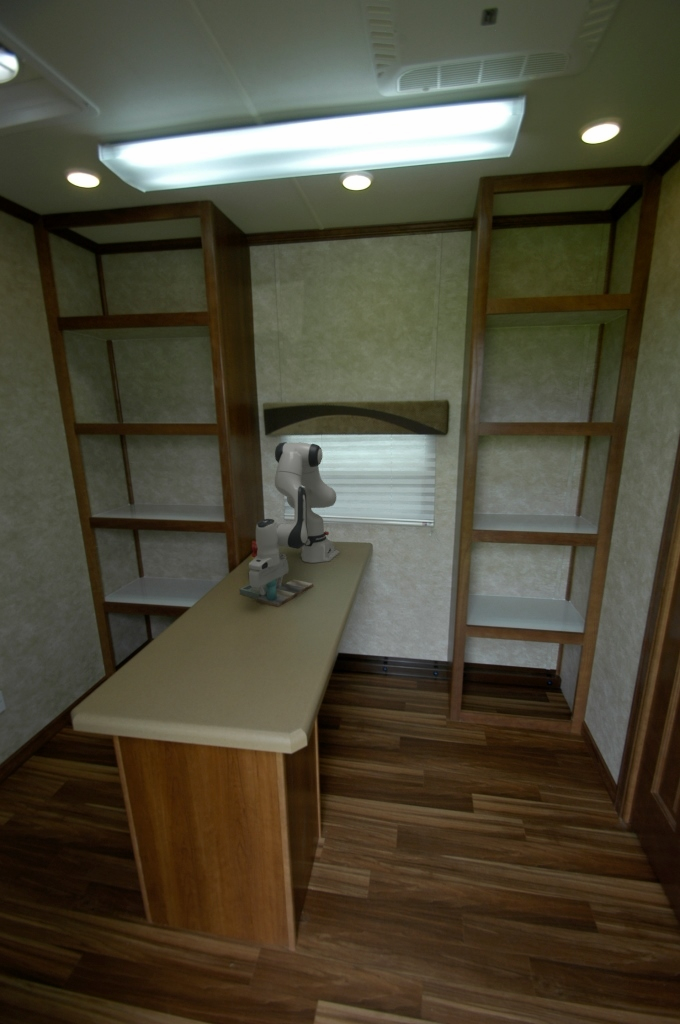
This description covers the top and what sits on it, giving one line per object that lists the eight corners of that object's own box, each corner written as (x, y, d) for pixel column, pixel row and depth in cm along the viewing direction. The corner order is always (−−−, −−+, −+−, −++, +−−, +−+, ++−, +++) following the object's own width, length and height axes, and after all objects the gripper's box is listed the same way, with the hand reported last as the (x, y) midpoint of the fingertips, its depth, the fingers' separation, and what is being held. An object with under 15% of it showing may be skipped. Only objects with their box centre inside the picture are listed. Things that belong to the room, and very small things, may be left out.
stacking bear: (274, 571, 213) (272, 537, 209) (269, 579, 203) (266, 543, 199) (253, 571, 214) (250, 537, 210) (247, 579, 204) (244, 543, 200)
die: (259, 587, 192) (258, 577, 191) (266, 589, 190) (265, 579, 189) (252, 590, 189) (251, 581, 188) (259, 593, 186) (258, 583, 185)
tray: (258, 584, 197) (258, 579, 197) (278, 589, 191) (278, 584, 190) (239, 594, 188) (239, 588, 187) (259, 599, 181) (259, 594, 181)
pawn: (271, 595, 182) (270, 574, 179) (279, 597, 179) (278, 576, 177) (264, 599, 178) (262, 577, 176) (272, 601, 176) (270, 579, 173)
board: (292, 581, 199) (292, 578, 199) (313, 586, 193) (313, 583, 192) (256, 601, 180) (256, 598, 179) (278, 607, 173) (277, 604, 173)
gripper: (279, 550, 185) (281, 580, 188) (245, 565, 168) (248, 598, 171) (290, 552, 181) (292, 583, 184) (257, 568, 165) (259, 601, 168)
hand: (271, 590), depth 178 cm, fingers open, 8 cm apart
